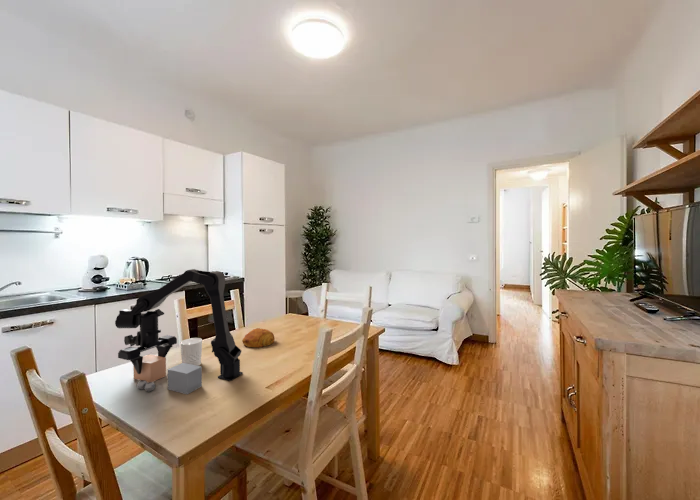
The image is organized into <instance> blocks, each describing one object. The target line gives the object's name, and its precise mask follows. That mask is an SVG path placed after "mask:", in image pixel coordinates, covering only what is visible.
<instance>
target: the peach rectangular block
mask: <svg viewBox="0 0 700 500" xmlns="http://www.w3.org/2000/svg"><path fill="white" fill-rule="evenodd" d="M166 358H167V357H160V356H158V355H155V354H151V353H149V354H146V355H144V356H143V361H142V370H141V374H138V373H137V371H136V369H135V367H134V365H133V364H132V365H133V368H132V369H133V379H135V380H137V381H141V380H146V381H147V383H148V382H154V383H155V382H156V381H158V380H160V379H163V378H164V377H167V359H166Z"/></svg>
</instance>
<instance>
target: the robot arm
mask: <svg viewBox="0 0 700 500" xmlns="http://www.w3.org/2000/svg"><path fill="white" fill-rule="evenodd" d="M191 282H193V283H195V284H199V285H201V286H202V285H203V287H204V290H205V292H206V293H207V295H208V296H209V298H210V304H211V305H210V307H211V312H212V317H213V326H214V331H215V337H214V338H213V339H211V341H210V345H211V348H212V349H211V353H213V355H214V357H215V358H217V360H218V363H219V367H220V370H219V371H220V372H219V373H220V375H218V376H217V378H218V379H220V380H226V381H229V382H230V381H233V380H235V379H237V378H238V377H240V376H242V375H243V373H244V372H242V371H241V361H240V360H241V359H240V358H239V357H240V356H241V353H242V349H241V348H240V347H238V346H237V345H236V342H235V339H234V337H233V335H232V333H231V332H230V330H229V324H228V317H227V311H226V306H225V298H224V292H225V287H226V276H225V274H224V273H223V272H221V271H219V270H216V271H215V270H214V271H212V272H211V271H206V270H199V269H195V268H191V269H188V270H185V271H184V272H183V273H181V274H180V275H179V276H176V277H175V278H174V279H172V280H171V281H169V282H168V283H166V284H164V285H162V286H161V287H160V288H158V289H156V290H154V291H151V292H148V293H146V294H144V295H140V296H139V297H138V298H137V299H136V304H135V305H133V308H131V309H125V308H124V309H120V310H119V311H118V312H119V313H118V315H117V316H116V319H115V321H114V325H115V327H116V328H118V329H136V328H138V327H139V330H138V331H137V332H136V335H134V336H133V335H132V334H129V335H126V336H124V340H123V341H124V345H125V346H128V345H129V347H124V348H122V349H119V350H118V353H117V358H118V359H120V360H121V359H122V360H126V361H130V362H131V363H132V365H134V367H135V369H136V371H137V373H138V374H141V370H142V361H143V356H142V355H141V353H144V352H146V351H149V350H151V349H155V348H156V350H157V356H160V357H165V358H167V355H168V354H169V352H170V350H171V348H173V347H174V346H173V345H176V344H178V338H177V337H176V336H175V335H168V334H166V335H163V336H160V337H159V333H161V332H162V329H159V317H161V316H163V315H165V312H164V311H162V310H161V309H160V308H158V307H159V306H161V305H162V304H163V303H164V302H165V300H166V299H167V298H168V297H169V296H171V295H173V294H174V293H176V292H177V291H179V290H181V289H182V288H183V287H185V286H186V285H188V284H190V283H191ZM156 308H157V309H156ZM153 309H155V310H153ZM144 312H145V313H144ZM134 346H137V347H134Z"/></svg>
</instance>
